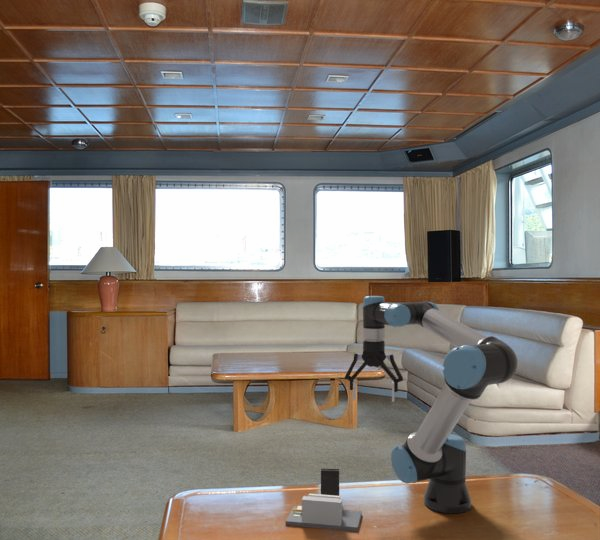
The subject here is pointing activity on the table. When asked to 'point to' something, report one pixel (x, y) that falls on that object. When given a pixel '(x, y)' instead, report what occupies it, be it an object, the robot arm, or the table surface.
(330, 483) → the door stopper
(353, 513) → the base
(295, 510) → the light gray flat plate
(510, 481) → the table surface
